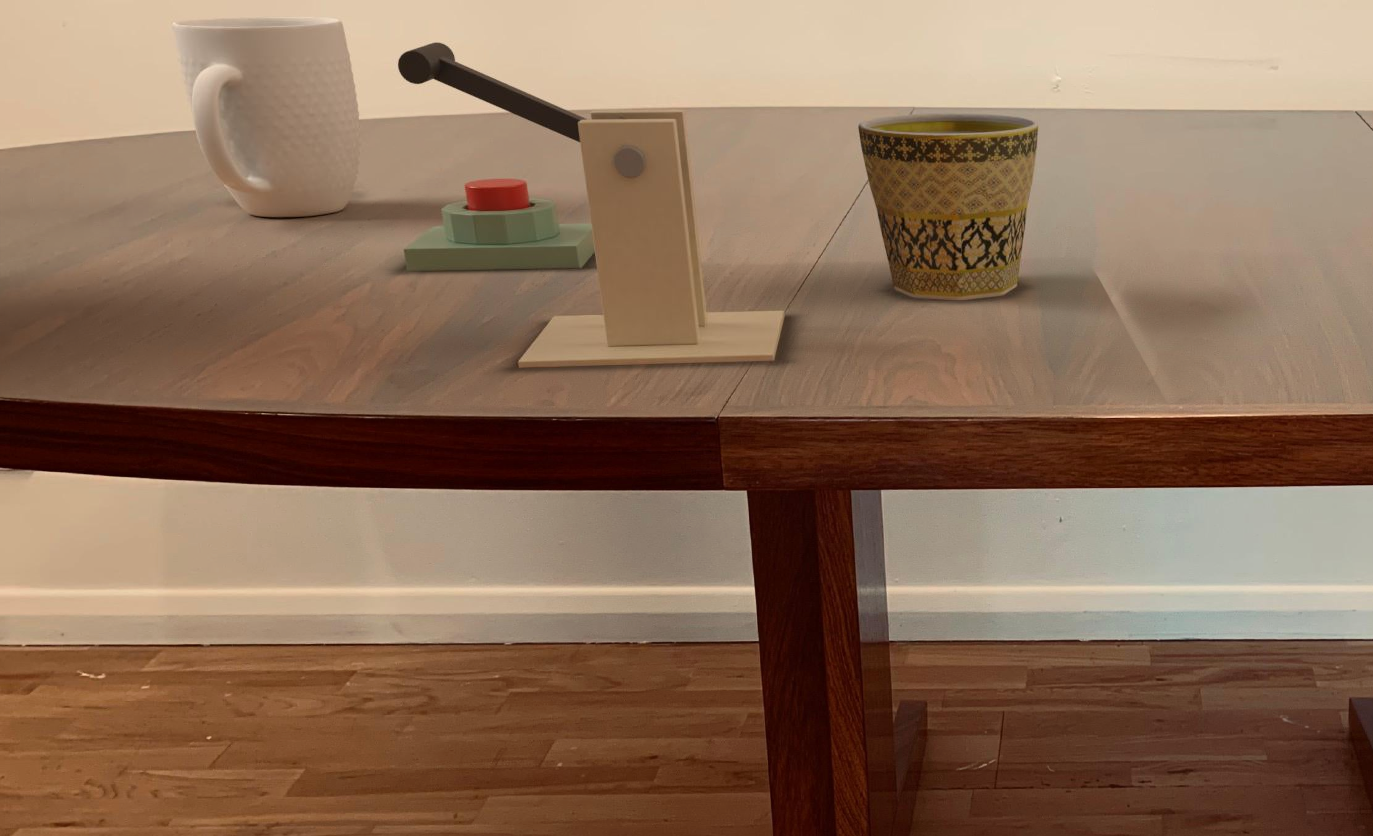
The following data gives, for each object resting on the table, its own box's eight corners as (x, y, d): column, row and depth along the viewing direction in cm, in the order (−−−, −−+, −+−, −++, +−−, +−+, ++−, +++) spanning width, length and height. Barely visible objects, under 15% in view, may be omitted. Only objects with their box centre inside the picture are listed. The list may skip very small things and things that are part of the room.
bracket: (521, 386, 83) (481, 129, 78) (556, 338, 92) (523, 105, 87) (775, 378, 85) (752, 126, 80) (786, 332, 94) (766, 103, 89)
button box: (409, 286, 104) (397, 217, 103) (440, 260, 111) (429, 196, 110) (581, 282, 106) (572, 215, 104) (601, 257, 113) (592, 194, 111)
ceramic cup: (1011, 326, 96) (1005, 137, 92) (842, 315, 98) (829, 130, 94) (1077, 281, 107) (1074, 111, 103) (925, 272, 109) (916, 105, 105)
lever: (390, 85, 79) (405, 35, 79) (417, 75, 84) (431, 27, 83) (651, 197, 83) (667, 150, 82) (663, 182, 88) (679, 136, 87)
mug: (306, 234, 120) (265, 31, 114) (151, 232, 120) (102, 29, 114) (403, 200, 133) (370, 17, 127) (262, 198, 133) (224, 15, 128)
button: (463, 217, 105) (458, 187, 104) (475, 207, 108) (471, 179, 108) (524, 216, 106) (520, 187, 105) (535, 207, 109) (531, 178, 108)
